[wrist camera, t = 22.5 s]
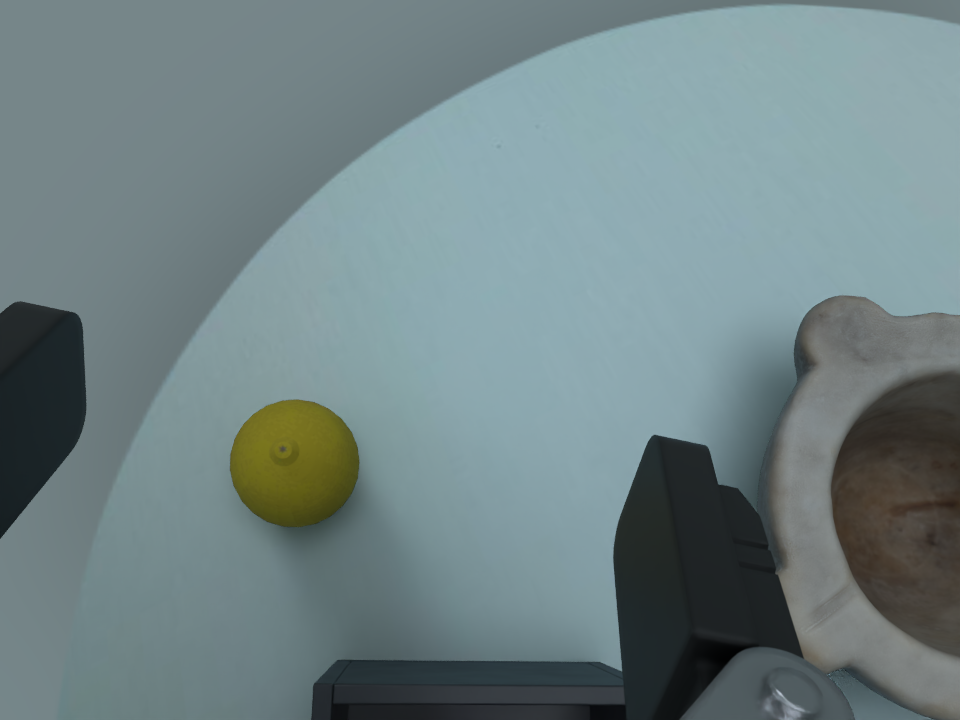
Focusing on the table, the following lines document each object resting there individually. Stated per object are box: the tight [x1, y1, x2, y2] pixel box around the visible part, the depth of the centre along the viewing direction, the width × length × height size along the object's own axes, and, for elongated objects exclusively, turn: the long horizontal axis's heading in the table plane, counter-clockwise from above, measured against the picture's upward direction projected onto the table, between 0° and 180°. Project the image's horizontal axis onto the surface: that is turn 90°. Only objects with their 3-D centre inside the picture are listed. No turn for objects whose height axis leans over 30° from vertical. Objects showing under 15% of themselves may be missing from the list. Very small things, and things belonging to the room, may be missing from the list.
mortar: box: [757, 296, 960, 720], centre depth 39 cm, size 17×17×9 cm
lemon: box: [230, 400, 359, 527], centre depth 38 cm, size 6×6×8 cm
